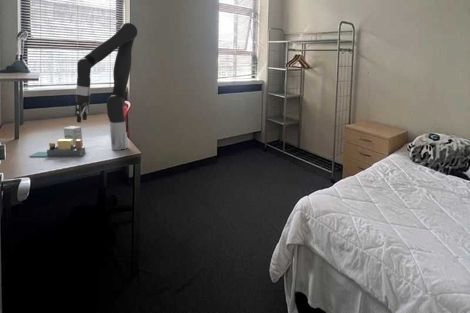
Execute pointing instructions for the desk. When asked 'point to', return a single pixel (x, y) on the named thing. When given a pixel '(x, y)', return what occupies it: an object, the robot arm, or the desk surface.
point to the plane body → (66, 150)
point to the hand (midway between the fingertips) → (81, 121)
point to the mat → (39, 154)
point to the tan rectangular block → (65, 143)
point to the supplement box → (73, 133)
